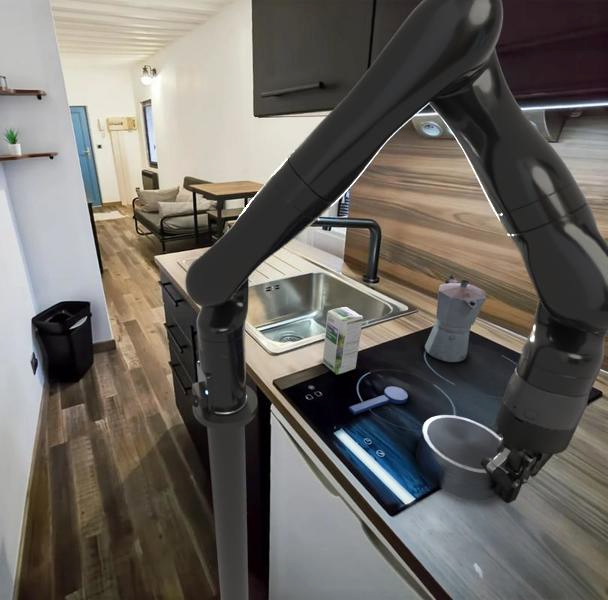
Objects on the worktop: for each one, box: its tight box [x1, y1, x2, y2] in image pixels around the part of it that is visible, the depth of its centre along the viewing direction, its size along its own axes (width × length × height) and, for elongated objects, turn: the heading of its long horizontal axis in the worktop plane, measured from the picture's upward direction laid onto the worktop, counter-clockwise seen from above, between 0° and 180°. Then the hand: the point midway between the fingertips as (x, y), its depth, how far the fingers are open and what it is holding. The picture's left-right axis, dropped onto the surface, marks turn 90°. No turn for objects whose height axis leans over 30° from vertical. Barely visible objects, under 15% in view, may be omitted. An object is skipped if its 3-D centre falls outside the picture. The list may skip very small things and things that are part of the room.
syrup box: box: [322, 306, 364, 375], centre depth 85 cm, size 6×6×14 cm
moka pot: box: [424, 275, 487, 363], centre depth 87 cm, size 10×15×20 cm, turn 172°
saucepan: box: [415, 414, 502, 501], centre depth 61 cm, size 19×12×6 cm, turn 113°
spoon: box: [348, 386, 409, 415], centre depth 76 cm, size 14×4×1 cm, turn 110°
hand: (503, 497), depth 54 cm, fingers closed
